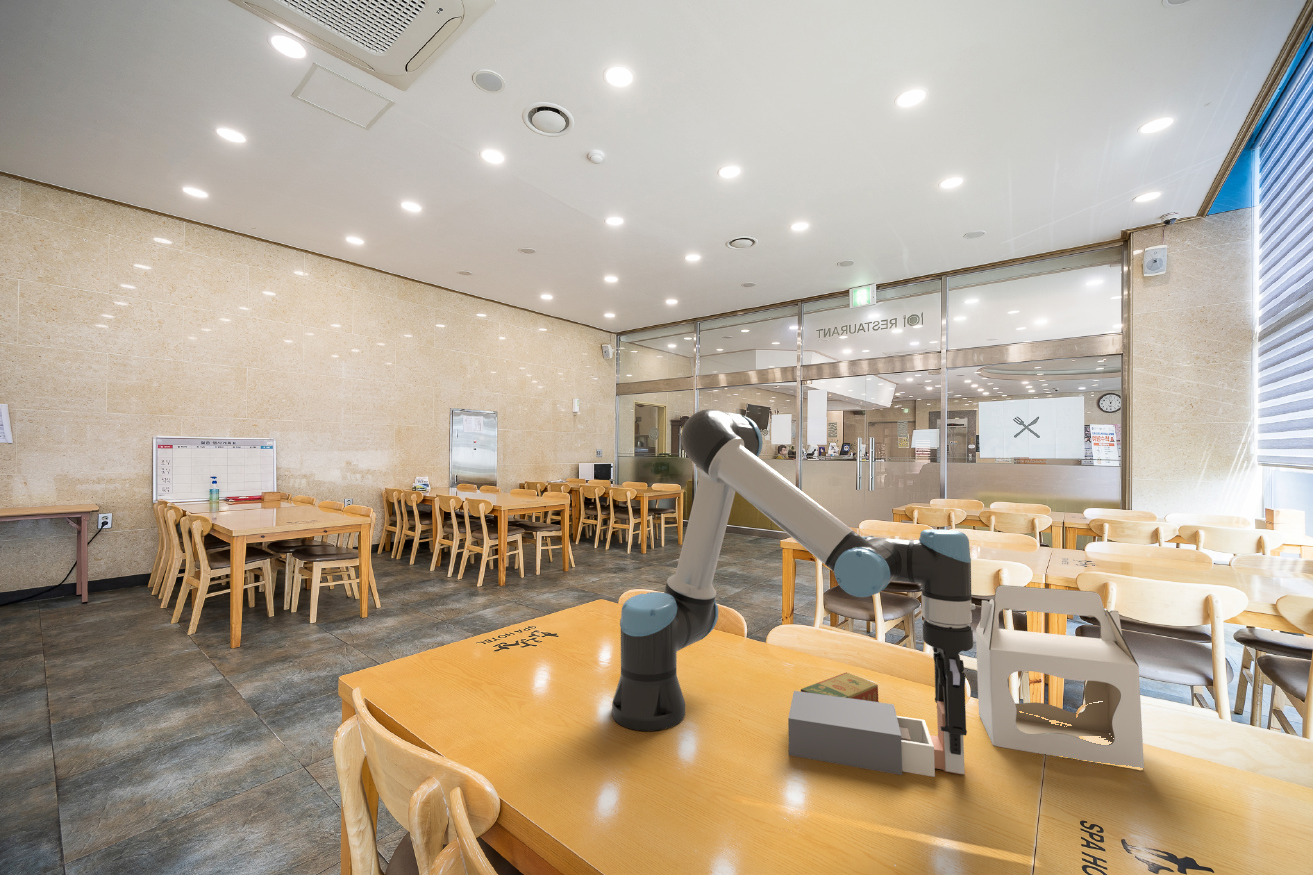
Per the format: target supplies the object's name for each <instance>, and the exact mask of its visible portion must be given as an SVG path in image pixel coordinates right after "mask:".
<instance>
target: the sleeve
mask: <svg viewBox="0 0 1313 875" xmlns="http://www.w3.org/2000/svg"><path fill="white" fill-rule="evenodd" d="M791 698H792V699H791V703H790V707H789V713H788V719H787V720H788V721H787V722H788V723H787V725H788V730H787V731H788V755H789V756H792V757H796V758H804V759H809V760H814V761H815V760H816V761H818V762H825V763H831V764H837V765H843V766H849V767H853V768H860V769H866V770H872V771H875V772H877V771H878V772H882V773H888V774H893V775H899V776H903V771H902V747H901V733H900V728H899V724H898V720H897V716H898V715H897V712H896V708H895V704H893V703H888V702H887V703H886V702H881V701H879V702H873V701H866V700H858V699H851V698H844V697H836V696H829V695H822V694H814V693H807V692H801V690H800V691H799V690H793V694H792V697H791Z"/></svg>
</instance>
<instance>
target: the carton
mask: <svg viewBox="0 0 1313 875" xmlns="http://www.w3.org/2000/svg"><path fill="white" fill-rule="evenodd" d="M878 685H879V684H877V683H875V682H872V681H870V680H868V679H866V678H863V677H860V676H858V675H855V674H852V673H850V672H847V671H846V672H844V673H840V674H838V675H836V676H833V677H830V678H828V679H825V680H822V681H819V682H816V683H814V684H811V685H808V686H806V687H805V686H804V687H803V688H801V689H800V692H807V693H814V694H822V695H829V696H836V697H844V698H851V699H858V700H866V701H873V702H880V701H879V686H878Z"/></svg>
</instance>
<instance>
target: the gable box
mask: <svg viewBox="0 0 1313 875" xmlns="http://www.w3.org/2000/svg"><path fill="white" fill-rule="evenodd" d="M994 592H995V593H994V598H991V599H990V600H989V601H988V600H987V599H986V600H985V599H981V603H980V604H981V605H980V606H981V607H980V619H979V623H978V624H977V626H976V628H975V644H976V645H975V646H976V668H977V669H976V671H977V672H976V673H977V676H976V677H977V698H978V699H977V700H979V701H978V703H977V704H978V715H979V718H980V720H981V722H982V724H983V726H984V728H985V731H986V733H987V735H988V738H989V740H990V741H991V742H990V743H991V744H992V745H993V747H998V748H1004V749H1011V750H1015V751H1016V750H1017V751H1021V752H1028V753H1035V754H1038V753H1039V755H1044V754H1046V755H1045V756H1050V755H1054V756H1053V757H1056V756H1063V757H1068V758H1074V759H1075V758H1076V759H1079V760H1087V761H1093V762H1101V763H1110V764H1115V765H1126V766H1128V765H1129V766H1132V767H1140V768H1144V769H1145V759H1144V744H1143V742H1144V741H1143V740H1144V737H1143V727H1142V726H1143V723H1142V722H1143V721H1142V706H1141V686H1140V685H1141V684H1140V683H1141V682H1140V669H1139V668H1140V666H1139V664H1138V663H1137V661H1136V659H1135V657H1134V655H1133V653H1132V651H1131V650H1130V648H1129V646H1128V643H1127V642H1126V640H1125V639H1124V636H1123V630H1122V626H1121V620H1120V613H1119V611H1118V610H1110V611H1108V609H1106V608H1105V607H1104V604H1103V601H1102V597H1101V596H1100V594H1099V592H1095V591H1088V590H1078V589H1077V590H1075V589H1065V588H1064V589H1063V588H1062V589H1061V588H1048V587H1047V588H1046V587H1033V586H1020V585H1006V584H1000V585H997V586H996V587H995V589H994ZM1003 610H1004V611H1009V610H1011V611H1021V612H1022V611H1024V612H1033V613H1034V612H1035V613H1036V612H1037V613H1046V614H1057V615H1059V614H1060V615H1070V616H1071V615H1072V616H1081V617H1087V618H1095V619H1096V620H1097V621H1098V622H1099V633H1100V636H1099V638H1098V637H1086V636H1075V635H1065V634H1058V633H1047V632H1046V633H1045V632H1035V631H1026V630H1025V631H1024V630H1016V629H1014V630H1013V629H1008V628H1005V629H1004V628H1000V623H999V621H1000V618H999V614H1000V612H1001V611H1003ZM1017 672H1034V673H1041V674H1044V675H1049V676H1053V677H1056V678H1059V679H1065V680H1069V681H1086V683H1085V686H1084V690H1083V697H1084V703H1085V704H1084V705H1087V704H1088V705H1087V706H1085V707H1084V710H1083V711H1081V712H1072V711H1068V710H1065V709H1063V708H1061V707H1058V706H1054V705H1052V704H1047V703H1044V702H1023V703H1022V702H1021V703H1020V702H1019V703H1017V702H1016V703H1015V700H1014V697H1013V695H1012V692H1011V690H1010V688H1009V683H1008V681H1009V677H1010V676H1011V675H1012V674H1014V673H1017ZM1098 701H1103V702H1099V703H1093V702H1098ZM1089 703H1092V704H1089ZM1019 711H1022V712H1024V713H1020V712H1019ZM1026 713H1028V714H1026ZM1077 713H1079V714H1078V717H1077V718H1076V714H1077ZM1029 714H1033V715H1029ZM1034 715H1038V716H1040V717H1036V716H1034ZM1041 717H1044V718H1046V719H1049V720H1056V721H1059V722H1063V723H1067V724H1071V725H1072V726H1067V725H1065V724H1062V726H1060V724H1061V723H1056V724H1059V725H1055V724H1051V722H1049V720H1045V719H1042V718H1041ZM1064 726H1065V727H1064ZM1066 726H1067V727H1066ZM1079 736H1101V738H1106V739H1104V740H1108V742H1109V741H1110V742H1112V743H1111V744H1109V745H1101V744H1096V743H1092V742H1089V741H1086V740H1083V739H1080V738H1079ZM1111 736H1112V737H1111ZM1099 738H1100V737H1099ZM1113 738H1114V739H1113ZM1079 760H1078V761H1079Z"/></svg>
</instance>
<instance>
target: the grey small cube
mask: <svg viewBox="0 0 1313 875" xmlns="http://www.w3.org/2000/svg"><path fill="white" fill-rule="evenodd" d="M899 728H900V733H901V740H905V741H911V738H910V735H909V731H908V728H902V727H899Z"/></svg>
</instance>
